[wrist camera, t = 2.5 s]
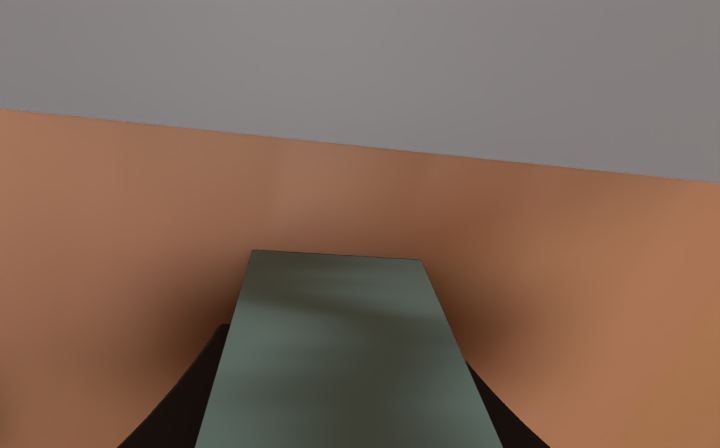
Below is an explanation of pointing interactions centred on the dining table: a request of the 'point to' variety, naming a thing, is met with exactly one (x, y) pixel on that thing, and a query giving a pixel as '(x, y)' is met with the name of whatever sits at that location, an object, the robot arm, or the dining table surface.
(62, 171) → the dining table surface
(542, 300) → the dining table surface
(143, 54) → the base board
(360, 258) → the teal block
